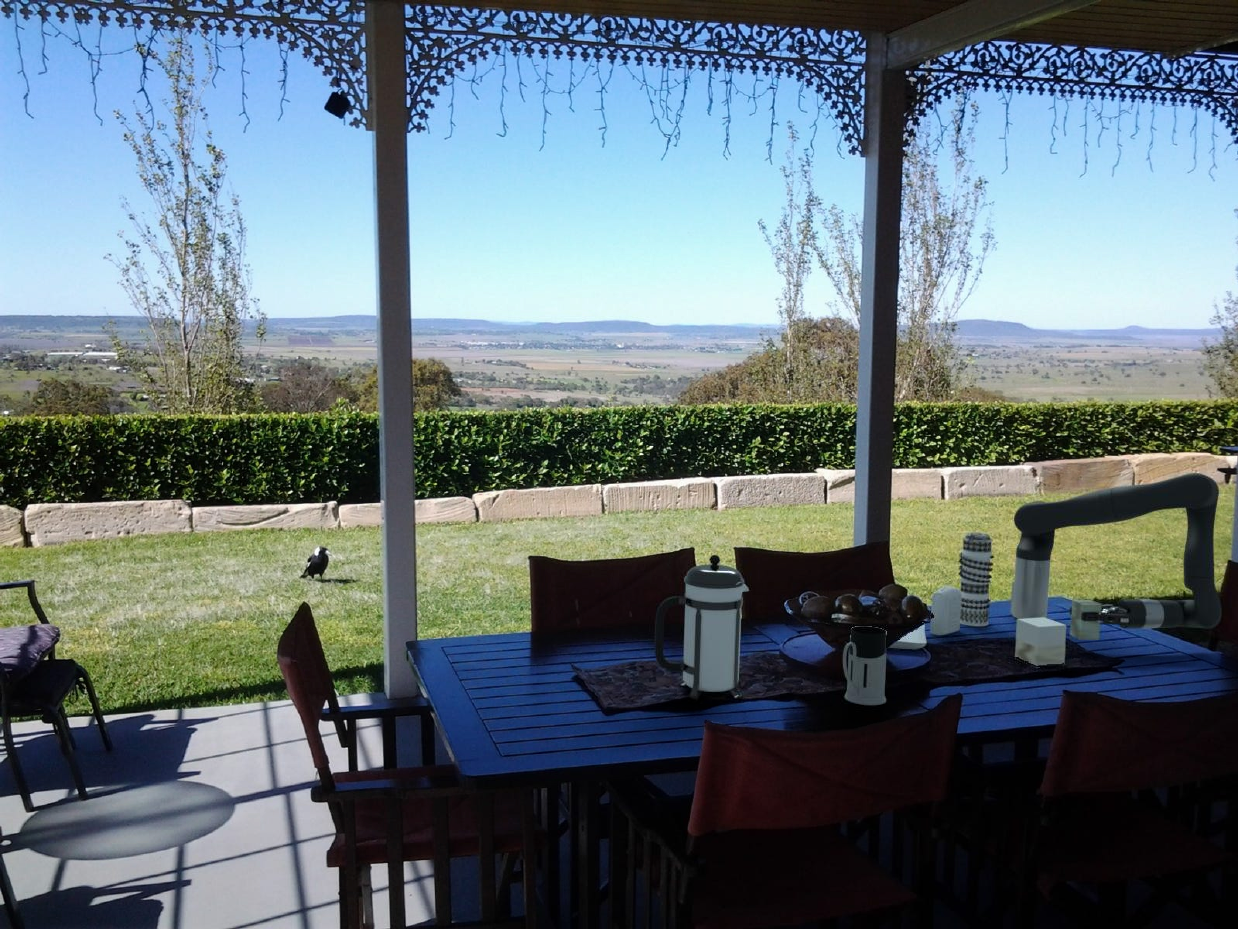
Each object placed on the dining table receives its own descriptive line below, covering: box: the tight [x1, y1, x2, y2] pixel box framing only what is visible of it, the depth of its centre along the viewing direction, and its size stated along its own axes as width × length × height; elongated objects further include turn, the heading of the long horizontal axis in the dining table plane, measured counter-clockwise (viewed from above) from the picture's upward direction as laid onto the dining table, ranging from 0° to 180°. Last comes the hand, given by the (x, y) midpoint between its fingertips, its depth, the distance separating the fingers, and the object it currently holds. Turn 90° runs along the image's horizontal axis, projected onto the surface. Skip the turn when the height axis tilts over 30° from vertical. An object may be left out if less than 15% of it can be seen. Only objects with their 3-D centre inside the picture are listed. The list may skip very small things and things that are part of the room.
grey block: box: [1015, 617, 1067, 647], centre depth 267 cm, size 8×8×5 cm
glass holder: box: [842, 626, 887, 706], centre depth 233 cm, size 9×14×15 cm, turn 138°
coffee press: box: [654, 554, 750, 700], centre depth 236 cm, size 17×16×30 cm
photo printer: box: [929, 585, 962, 636], centre depth 294 cm, size 10×4×12 cm, turn 134°
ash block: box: [1014, 638, 1066, 666], centre depth 268 cm, size 8×8×5 cm
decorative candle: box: [958, 532, 995, 627], centre depth 305 cm, size 9×9×25 cm
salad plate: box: [890, 623, 927, 650], centre depth 284 cm, size 21×21×3 cm
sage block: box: [1069, 599, 1103, 641], centre depth 278 cm, size 5×5×9 cm
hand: (1076, 613), depth 277 cm, fingers closed on sage block, 5 cm apart
